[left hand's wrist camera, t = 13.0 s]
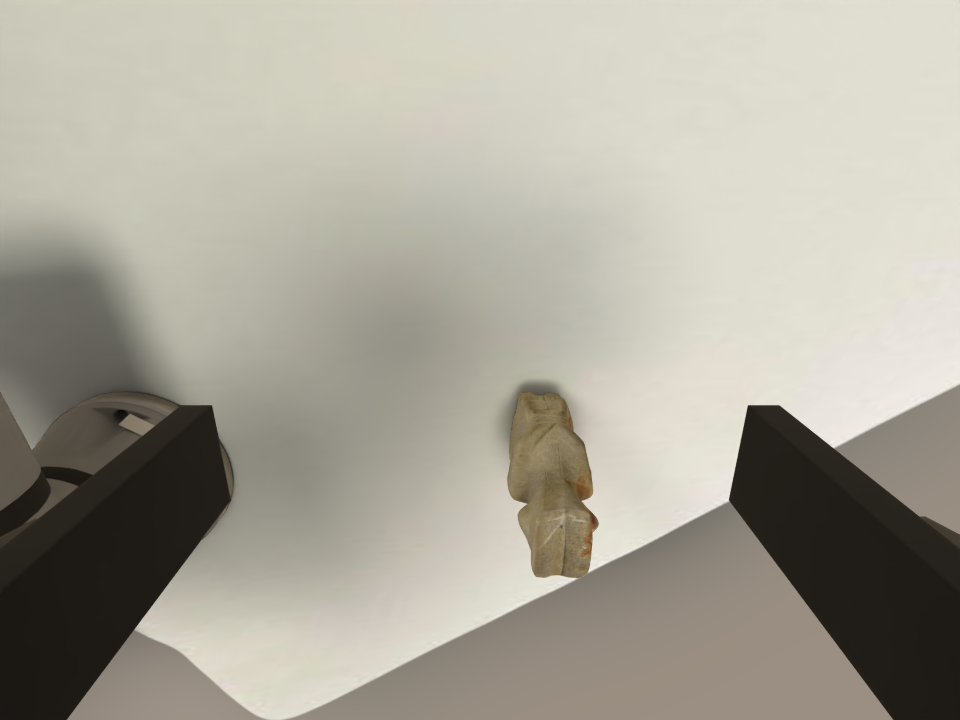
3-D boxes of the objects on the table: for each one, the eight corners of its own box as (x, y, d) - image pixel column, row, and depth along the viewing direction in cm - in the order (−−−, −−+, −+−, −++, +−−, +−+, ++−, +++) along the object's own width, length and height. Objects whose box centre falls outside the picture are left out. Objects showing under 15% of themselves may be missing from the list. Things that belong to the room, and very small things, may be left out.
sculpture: (497, 454, 45) (506, 586, 31) (507, 378, 42) (521, 484, 28) (564, 460, 45) (602, 593, 31) (577, 385, 42) (626, 492, 28)
